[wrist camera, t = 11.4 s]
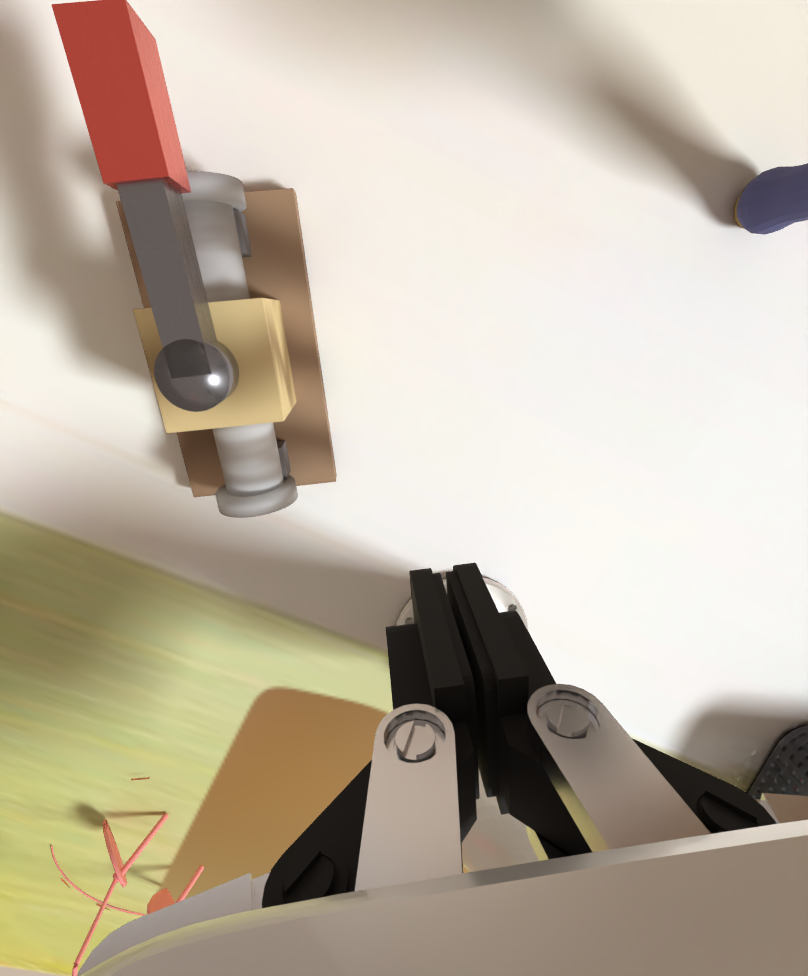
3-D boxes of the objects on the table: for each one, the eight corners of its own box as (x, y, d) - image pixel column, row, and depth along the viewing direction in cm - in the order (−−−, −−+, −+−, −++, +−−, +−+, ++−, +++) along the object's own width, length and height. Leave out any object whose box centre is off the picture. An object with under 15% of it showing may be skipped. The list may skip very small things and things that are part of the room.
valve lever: (247, 398, 27) (234, 408, 24) (183, 406, 27) (163, 417, 24) (164, 38, 21) (135, -3, 19) (82, 45, 21) (40, 5, 18)
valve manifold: (336, 475, 39) (330, 520, 30) (199, 490, 38) (155, 541, 30) (296, 193, 32) (273, 151, 23) (126, 206, 31) (41, 167, 23)
